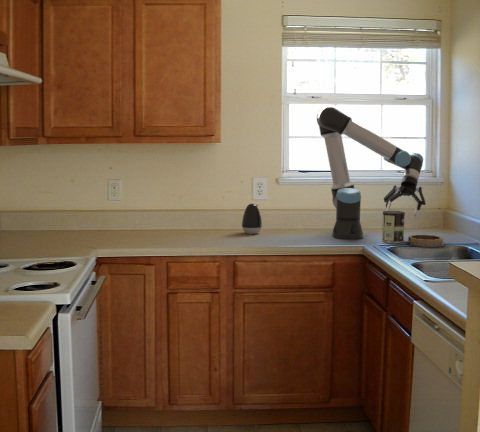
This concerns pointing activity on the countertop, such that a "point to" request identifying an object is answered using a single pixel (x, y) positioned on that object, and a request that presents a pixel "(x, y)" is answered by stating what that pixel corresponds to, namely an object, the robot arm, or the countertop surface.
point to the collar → (425, 241)
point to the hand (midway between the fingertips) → (400, 213)
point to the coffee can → (393, 226)
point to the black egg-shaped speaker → (252, 219)
